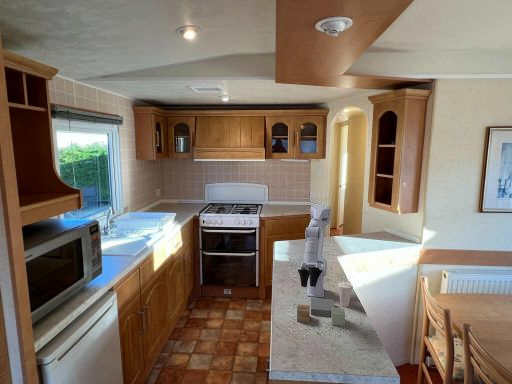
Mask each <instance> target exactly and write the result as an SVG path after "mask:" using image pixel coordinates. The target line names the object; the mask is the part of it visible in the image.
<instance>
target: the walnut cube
mask: <svg viewBox="0 0 512 384" xmlns="http://www.w3.org/2000/svg"><path fill="white" fill-rule="evenodd" d="M310 315H311V304H297V308H296V322H297V323H298V322H300V323H308V324H309V323H310Z"/></svg>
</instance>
